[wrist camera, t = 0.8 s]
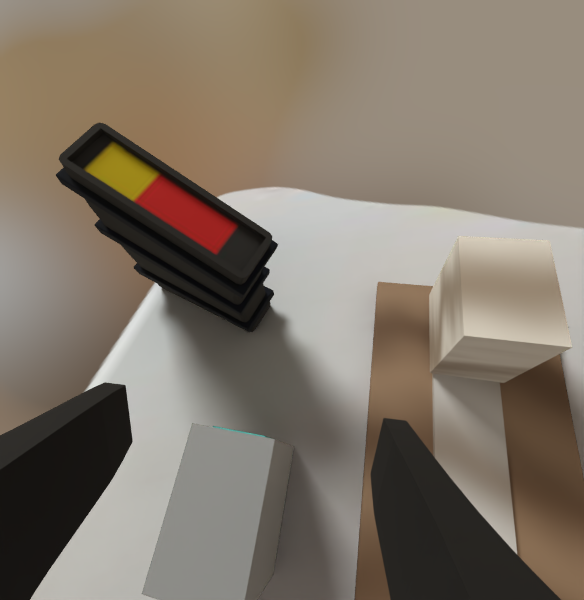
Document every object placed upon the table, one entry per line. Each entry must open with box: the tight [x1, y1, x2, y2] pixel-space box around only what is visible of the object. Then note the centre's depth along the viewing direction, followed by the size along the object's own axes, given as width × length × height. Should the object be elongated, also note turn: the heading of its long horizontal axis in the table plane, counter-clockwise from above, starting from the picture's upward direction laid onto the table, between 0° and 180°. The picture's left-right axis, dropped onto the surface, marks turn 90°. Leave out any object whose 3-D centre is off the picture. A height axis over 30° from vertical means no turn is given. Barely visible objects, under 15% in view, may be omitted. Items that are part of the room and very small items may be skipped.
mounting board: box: [355, 236, 584, 600], centre depth 16 cm, size 25×12×8 cm, turn 169°
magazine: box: [56, 123, 278, 332], centre depth 23 cm, size 4×13×15 cm, turn 60°
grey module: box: [142, 423, 294, 600], centre depth 18 cm, size 7×4×7 cm, turn 169°
